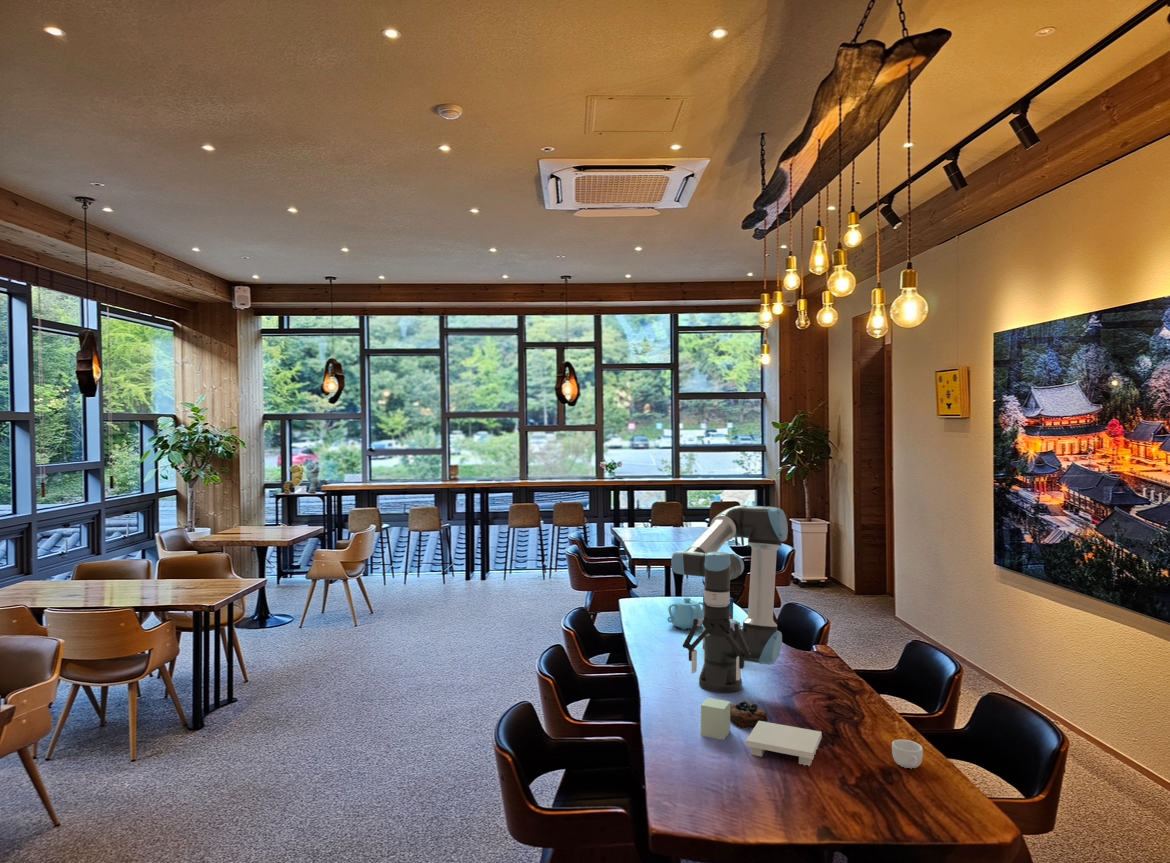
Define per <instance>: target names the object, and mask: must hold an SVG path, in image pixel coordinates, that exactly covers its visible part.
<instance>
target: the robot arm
mask: <svg viewBox="0 0 1170 863" xmlns="http://www.w3.org/2000/svg"><path fill="white" fill-rule="evenodd" d="M788 527H789V526H788V520H787V516H786V513H785V512H784V510H783V509H781V508H780V507H774V506H763V505H762V506H761V505H746V504H742V505H741V504H740V505H736V506H732V507H729V508H726V509H724V510H722V511H721V512H719V513H718V514H716V515H715V517H713V518H712V520H711V522H710V525H709V526H708V528H707V529H706V530H705V531H704V532H702V534H701V535H700V536H699V537H698V538H697V539H696V540H695V541H694V542H693V543H692V544H691V545H690V546H689V547H688V548H687V549H686V550H675V551H674V552H673V553H672V556H671V561H670V562H671V569H672V572H674V573H675V574H678V575H683V576H693V577H703V578H704V591H703V592H704V595H703V596H704V602H705V603H706V604H705V605H704V620H702V619H699V617H697V618H695V619H694V621H693V627H692V628H690V631H689V632H688V634H687V636H686V638H685V639H684V642H683V644H682V648H683V649H687V651H688V661H689V662H691V674H695V673H697V671H698V670H697V668H698V666H697V665H698V664H697V663H698V662H697V661H698V660H697V659H698V657H697V654H698V650H697V649H695V648H696V647H697V646H698V645H699V644H700V643H701V642H702V641H703V638H704V649H703V653H704V654H703V656H704V657H703V658H704V660H703V664H702V665H703V666H702V669H701V671H700V674H699V677H698V685H699V687H700V688H702V689H704V690H706V691H710V692H714V693H723V694H725V693H726V694H727V693H729V694H730V693H734V692H739V691H740V690H742V689H743V679H742V669H744V668H745V662H748V663H749V662H750V663H754V664H755V663H757V664H759V665H774V664H775V663H776V662H777V660H778V658H779V656H780V653H781V649H782V644H783V634H782V632H781V631H779V630H778V624H777V623H776V622H775V621H774V609H775V608H774V606H775V587H776V570H777V551H778V550H779V549H780V548H781V547H782V542H785V541H787V539H788V533H789V532H788V531H789V528H788ZM734 538H742V539H747V544H748V546H749V547H751V548H750V549H751V558H750V559H751V560H750V576H749V591H748V607H747V608H748V609H747V610H748V611H747V617H746V618H745V619H744V620H742V625H741V623H740V622H738V620H736V619H734V618H733V619H729V616H730V607H729V605H728V604H729V603H730V597H731V594H730V590H731V585H730V584H731V580H734V579H737V578H738V577H739V576H741V575H742V574H743V572H744V570H745V563H744V561H743V558H742V557H741V556H740V555H738V554H736V553H728V552H724V551H719V550H720V549H721V547H722V546H723V545H724V544H725V543H726V542H729V541H731V540H732V539H734ZM701 624H703V625H702V627H703V626H704V627H705V630H704V631H703V630H702V632H701V633H700V635H699V636H698V637H697V638H696V639H695V640H694V641H693V642H692V640H693V637H694V636H695V634H696V632H697V630H698V629H697V628H699V627H698V626H700V625H701ZM691 642H692V643H691Z"/></svg>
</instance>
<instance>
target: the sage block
mask: <svg viewBox="0 0 1170 863" xmlns="http://www.w3.org/2000/svg"><path fill="white" fill-rule="evenodd" d="M730 705H731V701H728V700H723V699H716V698H713V697H712V698H711V697H707V698H706V699H705V700H704V701H703V702H702V703H701V705H700V736H701V737H702V736H703V737H707V738H708V737H709V738H713V739H719V740H722V739H723V740H725V739H726V738H727V736H728V735H729V734H730V733H731V721H730Z"/></svg>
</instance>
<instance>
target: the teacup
mask: <svg viewBox="0 0 1170 863" xmlns="http://www.w3.org/2000/svg"><path fill="white" fill-rule="evenodd" d="M891 754H892V758H893V759H894V761H895V763H896V764H897V765H898V766H899V765H900V766H899V767H902V768H903V767H904V769H907V768H910V769H909V770H913V769H912V768H914V769H916V768H918V767H919V766H920V765H921V764H922V761H923V754H924V750H923V746H922V745H921V744H919V742H915V741H912V740H908V739H895V740H893V741H892V742H891Z"/></svg>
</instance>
